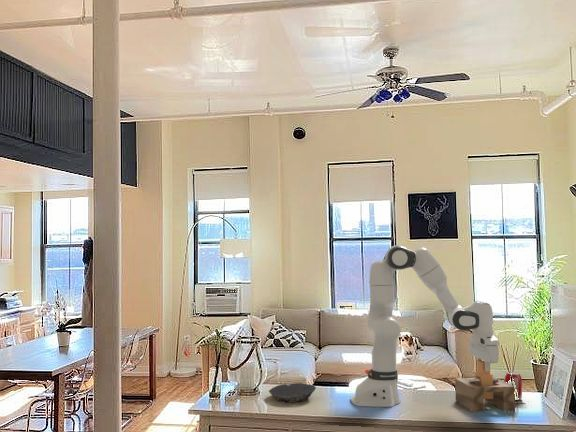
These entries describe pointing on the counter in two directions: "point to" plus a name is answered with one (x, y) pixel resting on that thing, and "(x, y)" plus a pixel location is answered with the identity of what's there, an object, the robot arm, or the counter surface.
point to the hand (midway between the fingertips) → (483, 369)
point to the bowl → (292, 392)
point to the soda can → (517, 381)
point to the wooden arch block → (474, 394)
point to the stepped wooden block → (484, 378)
